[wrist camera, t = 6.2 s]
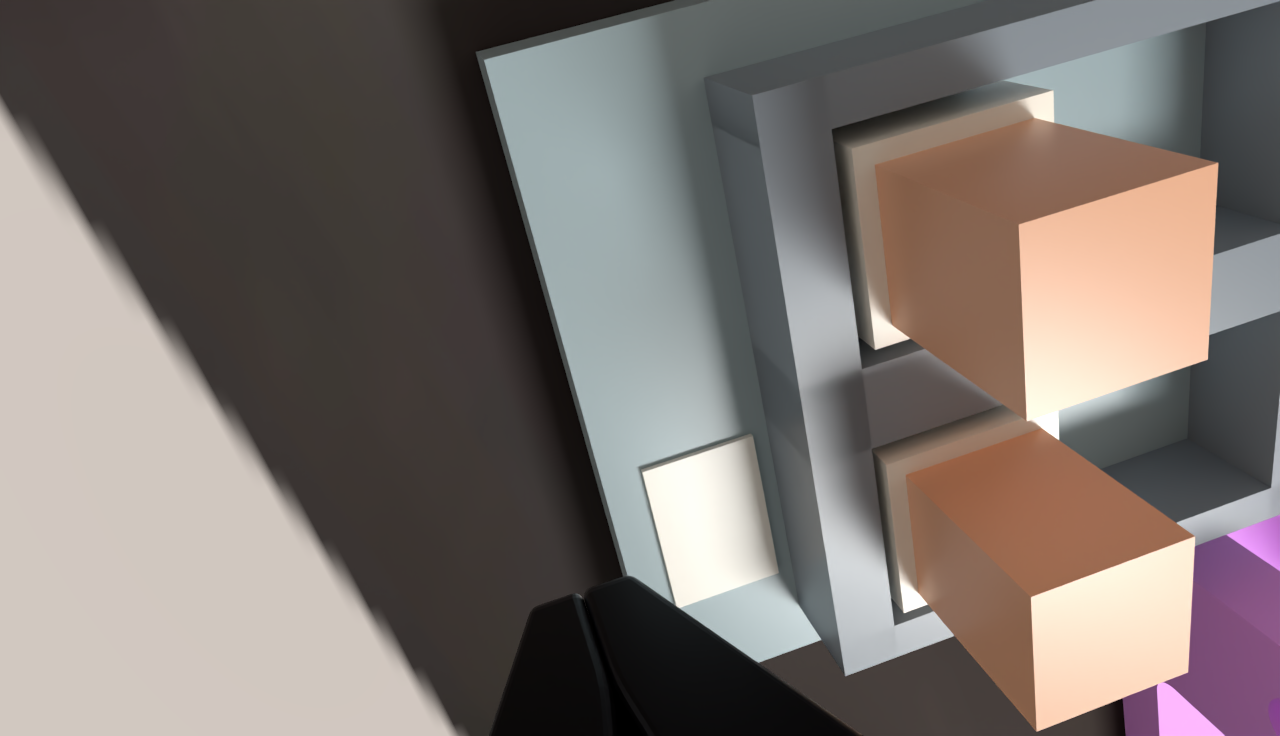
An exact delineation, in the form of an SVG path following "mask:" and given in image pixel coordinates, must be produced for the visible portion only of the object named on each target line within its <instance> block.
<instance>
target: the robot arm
mask: <svg viewBox="0 0 1280 736" xmlns="http://www.w3.org/2000/svg"><path fill="white" fill-rule="evenodd" d="M584 600H585V602H584ZM584 600H583V598H582V597H581V596H580V595H579V594H570V595H567V596H565V597H562V598H559V599H556V600H553V601H550V602H547V603H544V604H541V605H538V606H537V607H535V608H533V610H532V611H531V612H530V614H529V617H528V620H527V623H526V626H525V629H524V632H523V635H522V638H521V641H520V644H519V647H518V650H517V653H516V656H515V659H514V662H513V665H512V668H511V671H510V674H509V677H508V680H507V683H506V686H505V689H504V692H503V695H502V698H501V701H500V704H499V707H498V710H497V713H496V716H495V719H494V722H493V725H492V728H491V731H490V734H489V736H863V735H862V734H860V733H859V732H857V731H856V730H854V729H853V728H851V727H850V726H849V725H847V724H846V723H844V722H843V721H841V720H840V719H838V718H837V717H836V716H834V715H833V714H831V713H830V712H828V711H827V710H826V709H824V708H823V707H821V706H820V705H818V704H817V703H815V702H814V701H813V700H811V699H810V698H808V697H807V696H805V695H804V694H802V693H801V692H800V691H798V690H797V689H795V688H794V687H792V686H791V685H790V684H788V683H787V682H785V681H784V680H782V679H781V678H779V677H778V676H777V675H775V674H774V673H772V672H771V671H769V670H768V669H766V668H765V667H764V666H762V665H761V664H759V663H758V662H756V661H755V660H753V659H752V658H751V657H749V656H748V655H746V654H745V653H743V652H742V651H741V650H739V649H738V648H736V647H735V646H733V645H732V644H730V643H729V642H728V641H726V640H725V639H723V638H722V637H720V636H719V635H717V634H716V633H715V632H713V631H712V630H710V629H709V628H707V627H706V626H704V625H703V624H702V623H700V622H699V621H697V620H696V619H694V618H693V617H692V616H690V615H689V614H687V613H686V612H684V611H683V610H681V609H680V608H679V607H677V606H676V605H674V604H673V603H671V602H670V601H668V600H667V599H666V598H664V597H663V596H661V595H660V594H658V593H657V592H655V591H654V590H653V589H651V588H650V587H648V586H647V585H645V584H644V583H643V582H641V581H640V580H638V579H637V578H635V577H633V576H629V575H627V576H623V577H620V578H617V579H614V580H611V581H608V582H605V583H602V584H599V585H597V586H594V587H591V588H589V589H588V590H587V591H586V592H585V595H584ZM585 603H586V605H585ZM586 607H587V608H586ZM587 610H588V611H587ZM588 613H589V614H588Z"/></svg>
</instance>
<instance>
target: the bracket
mask: <svg viewBox="0 0 1280 736" xmlns="http://www.w3.org/2000/svg"><path fill="white" fill-rule="evenodd" d="M1123 708H1124V721H1125V734H1126V736H1280V515H1278V516H1275V517H1273V518H1270V519H1267V520H1264V521H1262V522H1259V523H1256V524H1254V525H1251V526H1248V527H1246V528H1243V529H1240V530H1238V531H1235V532H1232V533H1229V534H1227V535H1224V536H1221V537H1219V538H1216V539H1213V540H1211V541H1208V542H1205V543H1203V544H1200V545H1197V546H1195V551H1194V570H1193V589H1192V608H1191V628H1190V647H1189V666H1188V673H1185V674H1183V675H1180V676H1178V677H1175V678H1172V679H1170V680H1167V681H1165V682H1162V683H1160V684H1157V685H1155V686H1152V687H1149V688H1147V689H1144V690H1142V691H1139V692H1137V693H1134V694H1132V695H1129V696H1126V697H1124V698H1123Z"/></svg>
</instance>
